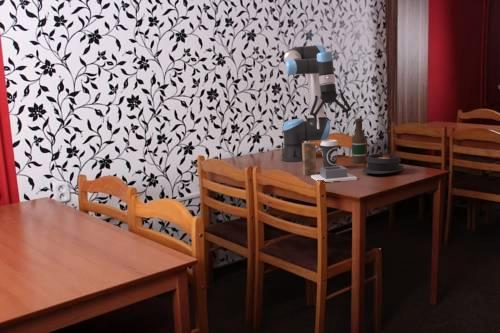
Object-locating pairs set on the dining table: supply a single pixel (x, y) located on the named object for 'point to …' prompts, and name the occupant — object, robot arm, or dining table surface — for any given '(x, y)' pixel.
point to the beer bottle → (358, 144)
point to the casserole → (383, 164)
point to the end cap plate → (333, 174)
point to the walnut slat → (309, 158)
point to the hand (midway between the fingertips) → (332, 127)
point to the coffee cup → (329, 152)
